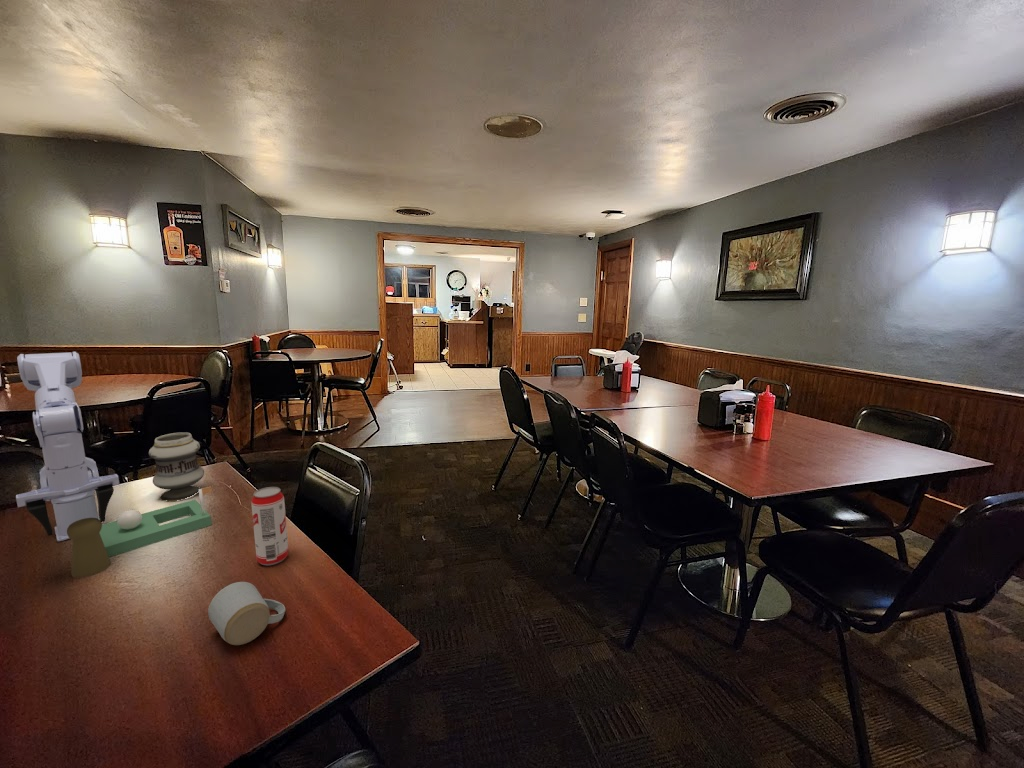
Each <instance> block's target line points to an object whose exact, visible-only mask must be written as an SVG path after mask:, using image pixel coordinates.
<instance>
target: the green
mask: <svg viewBox="0 0 1024 768" xmlns="http://www.w3.org/2000/svg"><path fill="white" fill-rule="evenodd" d="M204 511H205V515H203V516H202V515H201V506H200V502H198V500H196V499H192V500H189V501H185V502H181V503H177V504H174V505H173V504H172V505H169V506H166V507H163V508H159V509H155V510H151V511H147V512H145V513H141V515H142V521H141V523H140V524H139V525H138V526H137V527H135V528H133V529H129V530H125V529H122V528H120V527H119V526H118V524H117V520H113V521H110V522H107V523H102V529H101V531H100V532H99V533H100V535H101V538H102V541H103V543H104V546H105V549H106V551H107V554H108V557H109V558H111V557H114V556H117V555H121V554H124V553H126V552H130V551H133V550H136V549H139V548H142V547H146V546H149V545H153V544H155V543H159V542H161V541H165V540H168V539H171V538H173V537H177V536H178V537H179V536H181V535H185V534H188V533H190V532H194V531H197V530H201V529H203V528H206V527H210V526H212V525H213V524H212V517H211V515H210V514H209V512H208V511H207V510H206V509H205V508H204ZM189 514H190V515H191V516H190V515H189ZM188 515H189V516H188ZM185 516H188V517H185ZM182 517H183V518H182ZM180 518H181V519H180ZM176 519H178V520H176ZM172 520H174V521H172ZM168 521H169V522H168ZM170 521H172V522H170ZM165 522H166V523H165ZM167 522H168V523H167ZM162 523H163V524H162Z"/></svg>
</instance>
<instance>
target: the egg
mask: <svg viewBox="0 0 1024 768" xmlns="http://www.w3.org/2000/svg"><path fill="white" fill-rule="evenodd" d="M141 514H142V513H141V512H140V511H139V510H137V509H136V510H135V509H130V510H129V509H128V510H125V511H122V512H121V513H120V514H119V516H118V517H117V520H116V521H117V524H118V526H119V527H120V528H122V529H125V530H129V529H133V528H135V527H137V526H138V525H139V524H140V523H141V521H142V515H141Z"/></svg>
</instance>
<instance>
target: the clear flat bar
mask: <svg viewBox="0 0 1024 768" xmlns="http://www.w3.org/2000/svg"><path fill="white" fill-rule="evenodd" d="M198 490H199V494H198V496H199V504H200V506H201V515H202V516H203V515H205V511H204V509H205V504H204V497H203V496H204V495H207V494H210V493H213V488H212V486H207V487H203V488H201V489H198Z"/></svg>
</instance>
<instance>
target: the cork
mask: <svg viewBox="0 0 1024 768" xmlns="http://www.w3.org/2000/svg"><path fill="white" fill-rule="evenodd" d="M102 524H103V522H101V521H100V520H99V519H97V518H85V519H81V520H78V521H75V522H73V523H72V524H70V525H69V527H68V528H67V535H68V537H69V538H70V539H69V540H71V573H70V574H71V576H72V577H73V578H77V579H78V578H87V577H91V576H94V575H97V574H99V573H101V572H104V570H106V569H108V568H109V567H110V566H111V565H112V563H111V559H110V557H108V554H107V551H106V549H105V546H104V543H103V541H102V538H101V535H100V533H99V532H100V531H101V529H102Z"/></svg>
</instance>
